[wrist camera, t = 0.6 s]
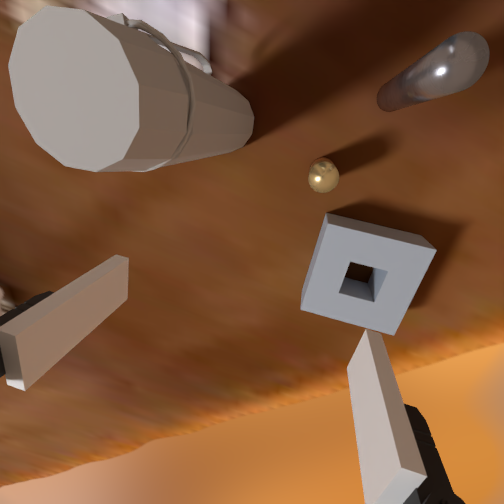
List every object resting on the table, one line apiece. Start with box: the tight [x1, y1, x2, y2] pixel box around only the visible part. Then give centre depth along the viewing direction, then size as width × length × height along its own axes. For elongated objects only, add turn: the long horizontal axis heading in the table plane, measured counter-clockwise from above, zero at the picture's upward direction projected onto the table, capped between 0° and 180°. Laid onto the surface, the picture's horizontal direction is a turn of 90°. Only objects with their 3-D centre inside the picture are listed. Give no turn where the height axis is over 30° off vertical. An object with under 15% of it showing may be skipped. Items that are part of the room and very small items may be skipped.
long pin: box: [377, 32, 489, 112], centre depth 24 cm, size 3×3×16 cm
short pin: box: [309, 157, 339, 193], centre depth 32 cm, size 3×3×7 cm
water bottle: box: [8, 6, 254, 172], centre depth 24 cm, size 9×8×25 cm
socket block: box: [301, 213, 437, 335], centre depth 37 cm, size 12×12×5 cm
